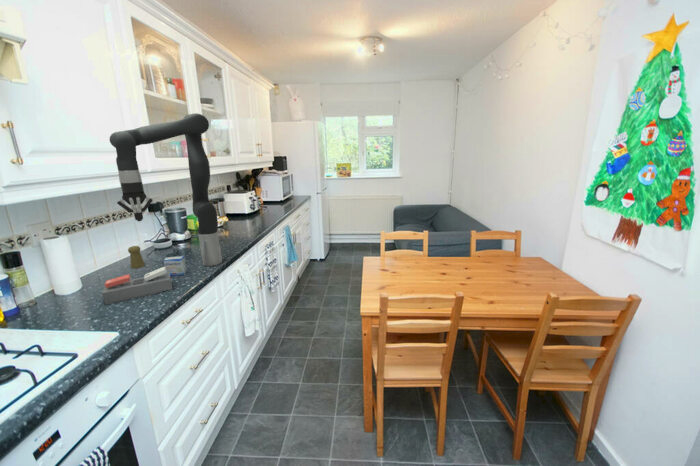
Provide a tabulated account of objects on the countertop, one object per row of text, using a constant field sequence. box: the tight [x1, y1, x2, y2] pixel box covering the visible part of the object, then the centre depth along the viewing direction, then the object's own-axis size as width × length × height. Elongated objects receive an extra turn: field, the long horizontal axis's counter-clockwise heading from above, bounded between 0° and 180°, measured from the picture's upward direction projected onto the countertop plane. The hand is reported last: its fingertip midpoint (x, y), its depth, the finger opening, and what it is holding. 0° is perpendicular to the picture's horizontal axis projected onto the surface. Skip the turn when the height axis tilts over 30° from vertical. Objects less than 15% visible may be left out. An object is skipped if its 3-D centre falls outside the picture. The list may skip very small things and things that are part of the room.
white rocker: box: [143, 266, 166, 281], centre depth 126 cm, size 8×4×2 cm, turn 121°
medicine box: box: [163, 255, 187, 277], centre depth 142 cm, size 8×4×9 cm, turn 105°
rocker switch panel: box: [101, 272, 173, 305], centre depth 124 cm, size 23×9×6 cm, turn 122°
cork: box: [127, 245, 145, 269], centre depth 152 cm, size 6×6×11 cm
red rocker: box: [104, 273, 132, 288], centre depth 120 cm, size 8×4×2 cm, turn 122°
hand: (139, 220), depth 128 cm, fingers closed
